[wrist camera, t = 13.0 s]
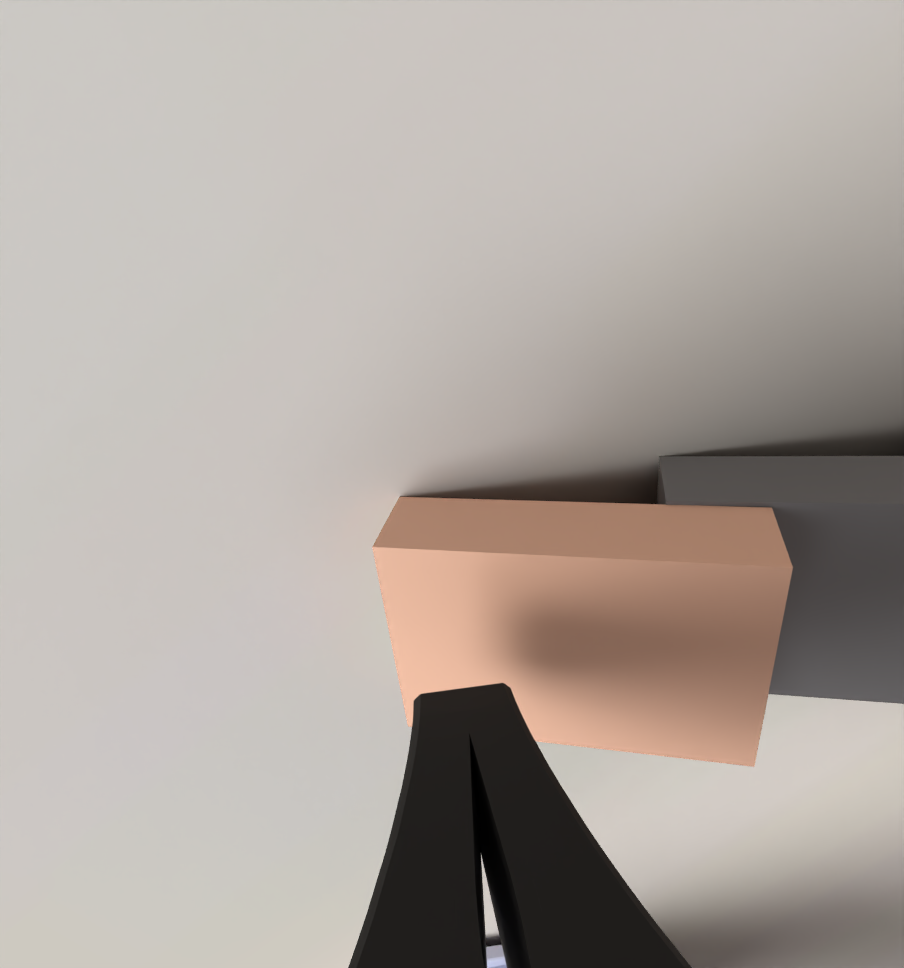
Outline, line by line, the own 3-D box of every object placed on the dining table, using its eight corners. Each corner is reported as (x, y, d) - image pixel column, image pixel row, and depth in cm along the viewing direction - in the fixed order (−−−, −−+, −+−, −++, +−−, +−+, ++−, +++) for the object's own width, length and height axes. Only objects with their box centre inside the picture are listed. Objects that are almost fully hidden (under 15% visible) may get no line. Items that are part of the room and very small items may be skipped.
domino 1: (399, 496, 12) (771, 507, 11) (427, 667, 14) (740, 696, 13) (372, 547, 11) (793, 567, 9) (407, 726, 13) (753, 766, 12)
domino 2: (659, 456, 12) (1057, 455, 11) (649, 630, 15) (981, 648, 13) (666, 501, 11) (1120, 507, 10) (654, 685, 13) (1023, 712, 12)
